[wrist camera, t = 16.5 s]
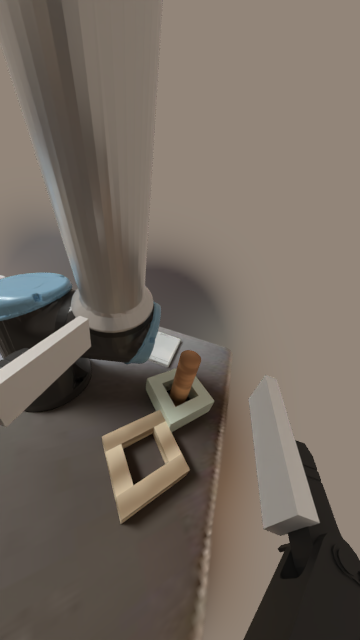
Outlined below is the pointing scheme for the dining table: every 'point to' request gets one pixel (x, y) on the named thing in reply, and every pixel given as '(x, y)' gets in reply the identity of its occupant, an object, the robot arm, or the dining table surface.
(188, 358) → the peg
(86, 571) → the dining table surface
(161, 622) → the dining table surface
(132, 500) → the holder
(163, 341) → the hard drive
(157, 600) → the dining table surface
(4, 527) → the dining table surface
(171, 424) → the socket block
